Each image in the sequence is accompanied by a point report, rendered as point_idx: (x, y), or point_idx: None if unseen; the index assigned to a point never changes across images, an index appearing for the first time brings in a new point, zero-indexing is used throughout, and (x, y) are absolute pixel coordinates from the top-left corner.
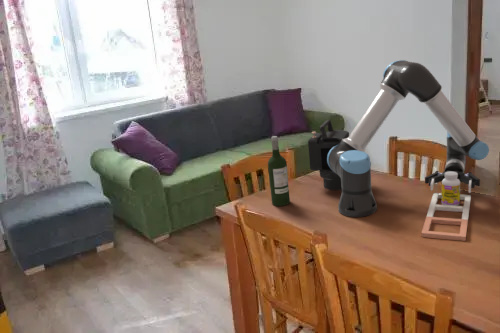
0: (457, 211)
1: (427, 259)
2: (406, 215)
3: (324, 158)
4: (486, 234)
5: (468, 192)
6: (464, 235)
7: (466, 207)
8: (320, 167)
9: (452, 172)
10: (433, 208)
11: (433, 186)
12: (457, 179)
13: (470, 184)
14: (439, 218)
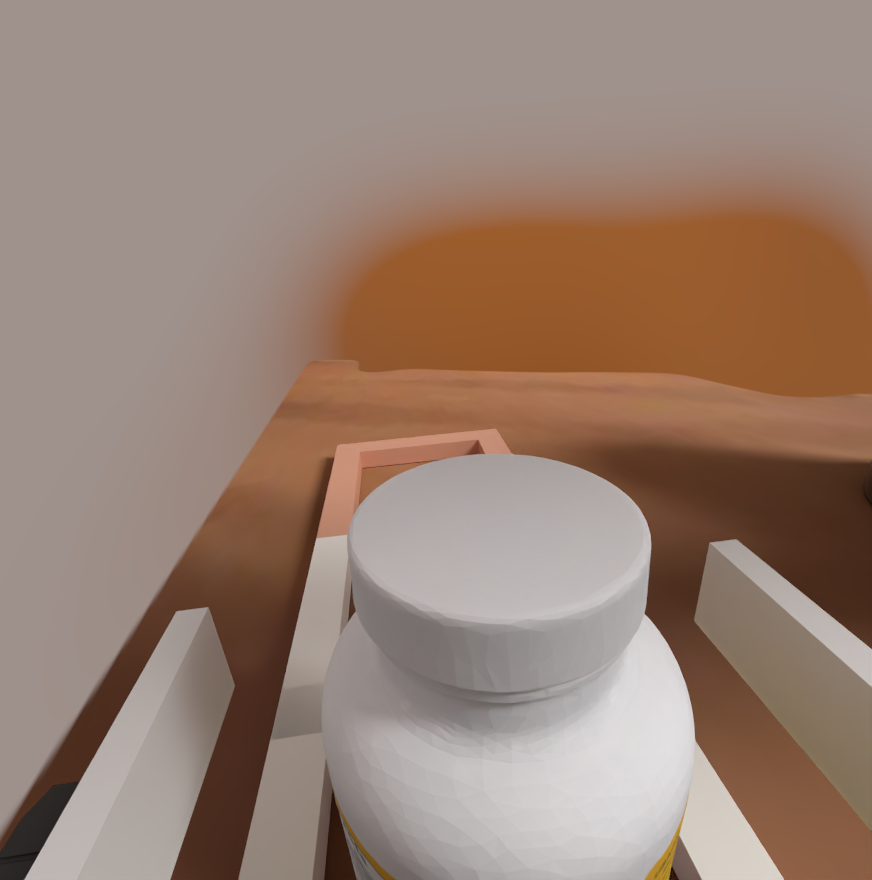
0: None
1: (436, 398)
2: (693, 546)
3: None
4: (249, 506)
5: (234, 685)
6: (341, 448)
7: (303, 709)
8: None
9: (482, 561)
10: None
11: (805, 733)
12: (367, 650)
13: (151, 671)
14: None
